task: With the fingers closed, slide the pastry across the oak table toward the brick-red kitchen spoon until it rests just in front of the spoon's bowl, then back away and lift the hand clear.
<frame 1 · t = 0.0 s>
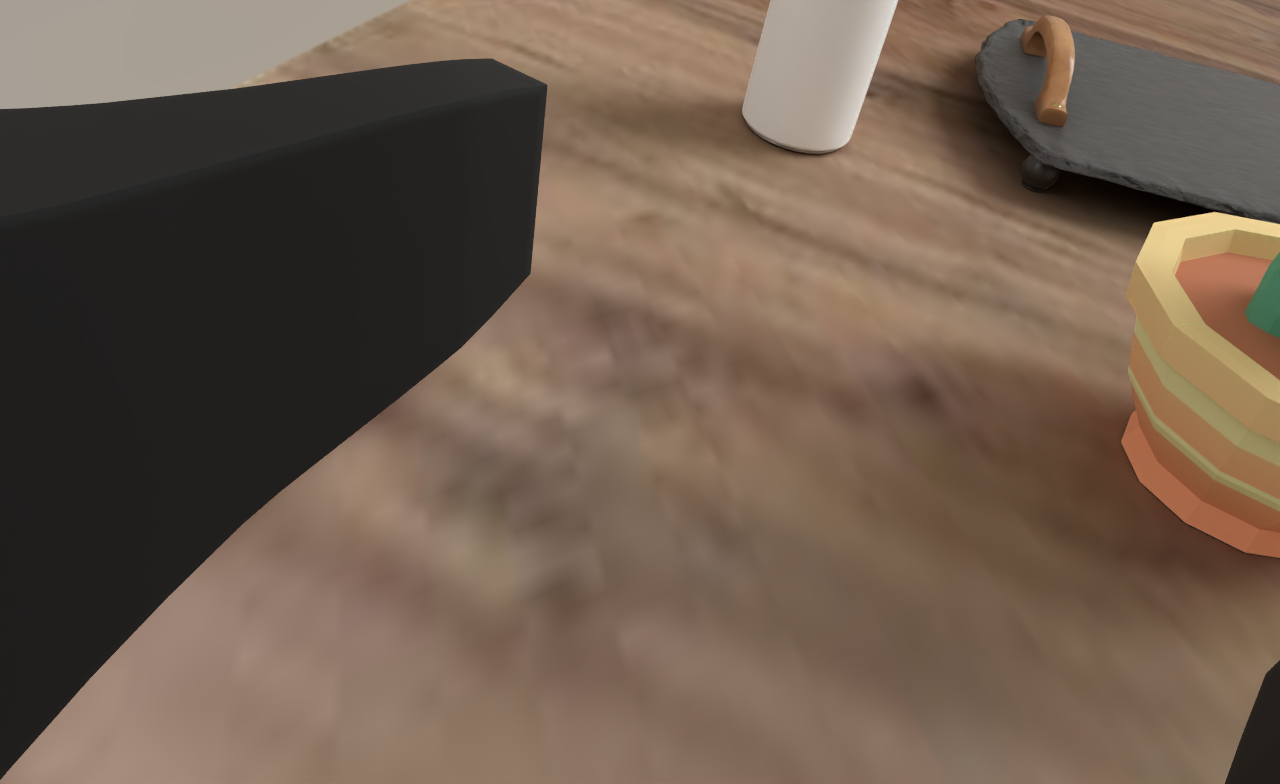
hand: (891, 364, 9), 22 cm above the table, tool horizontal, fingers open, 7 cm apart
can: (793, 131, 63), on the table
potted cactus: (1226, 480, 45), on the table
serving tray: (1255, 186, 70), on the table
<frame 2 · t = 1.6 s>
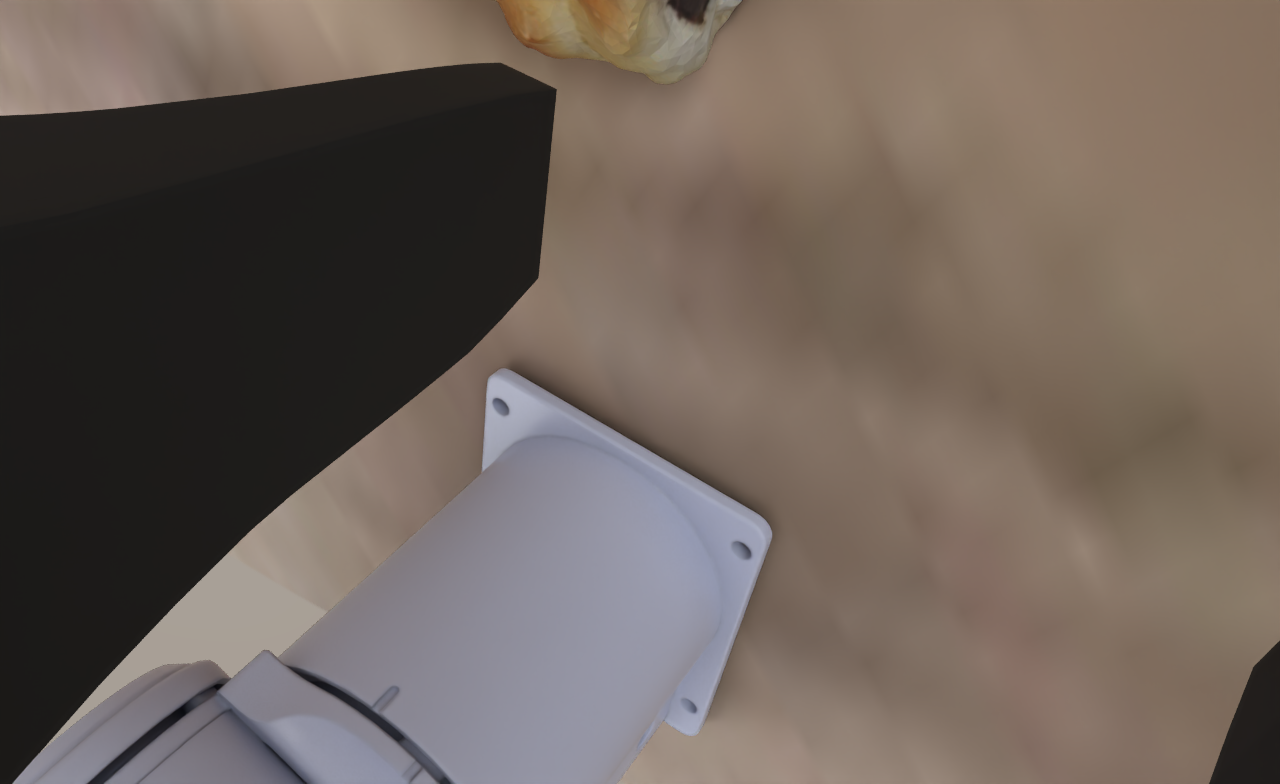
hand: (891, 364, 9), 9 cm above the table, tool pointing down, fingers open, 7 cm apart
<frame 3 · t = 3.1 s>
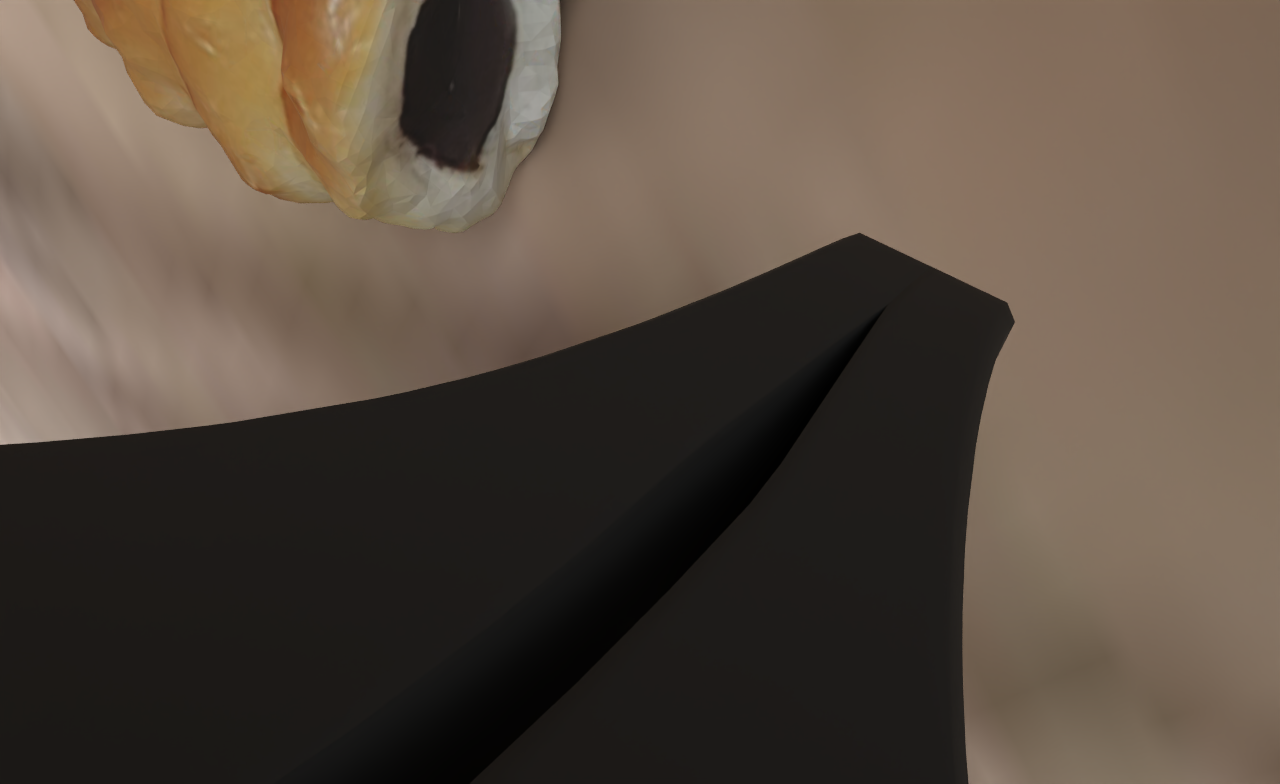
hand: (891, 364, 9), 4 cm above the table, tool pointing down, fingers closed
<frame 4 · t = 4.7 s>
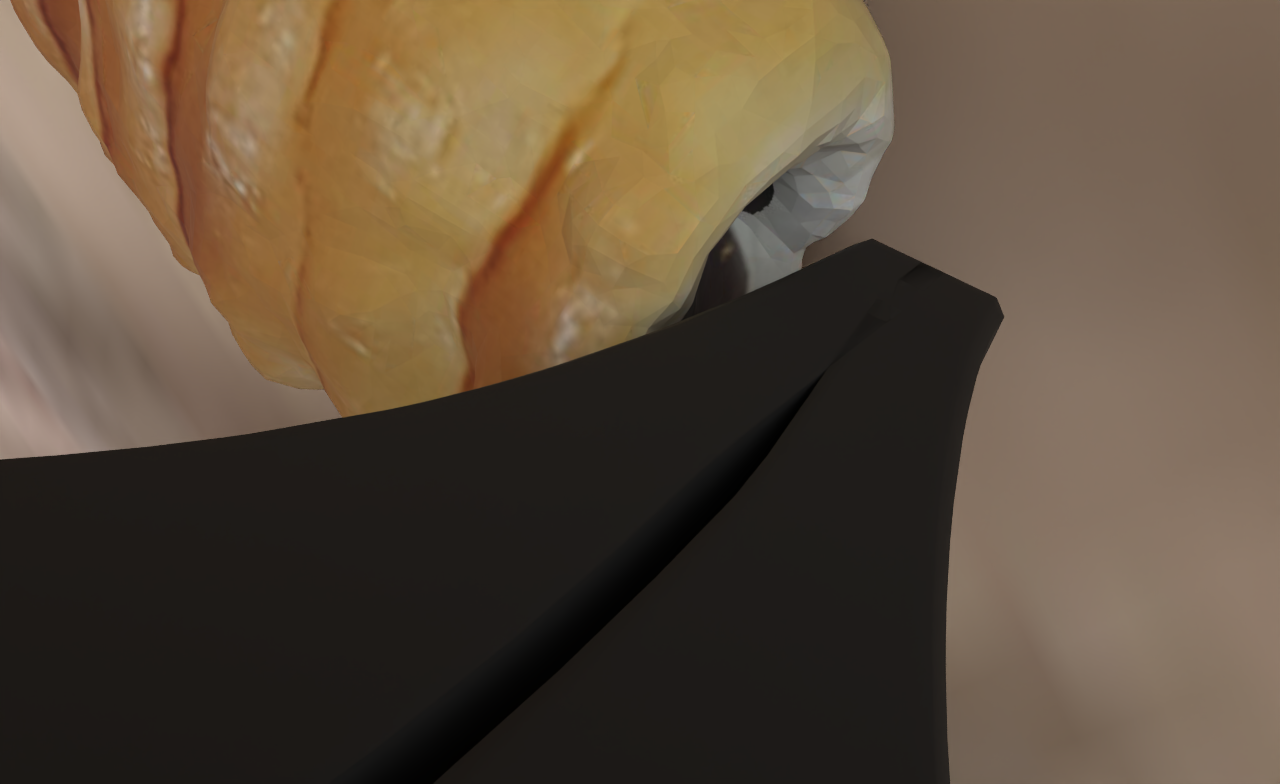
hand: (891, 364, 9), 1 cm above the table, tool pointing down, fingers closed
pastry: (523, 66, 11), on the table, touching gripper
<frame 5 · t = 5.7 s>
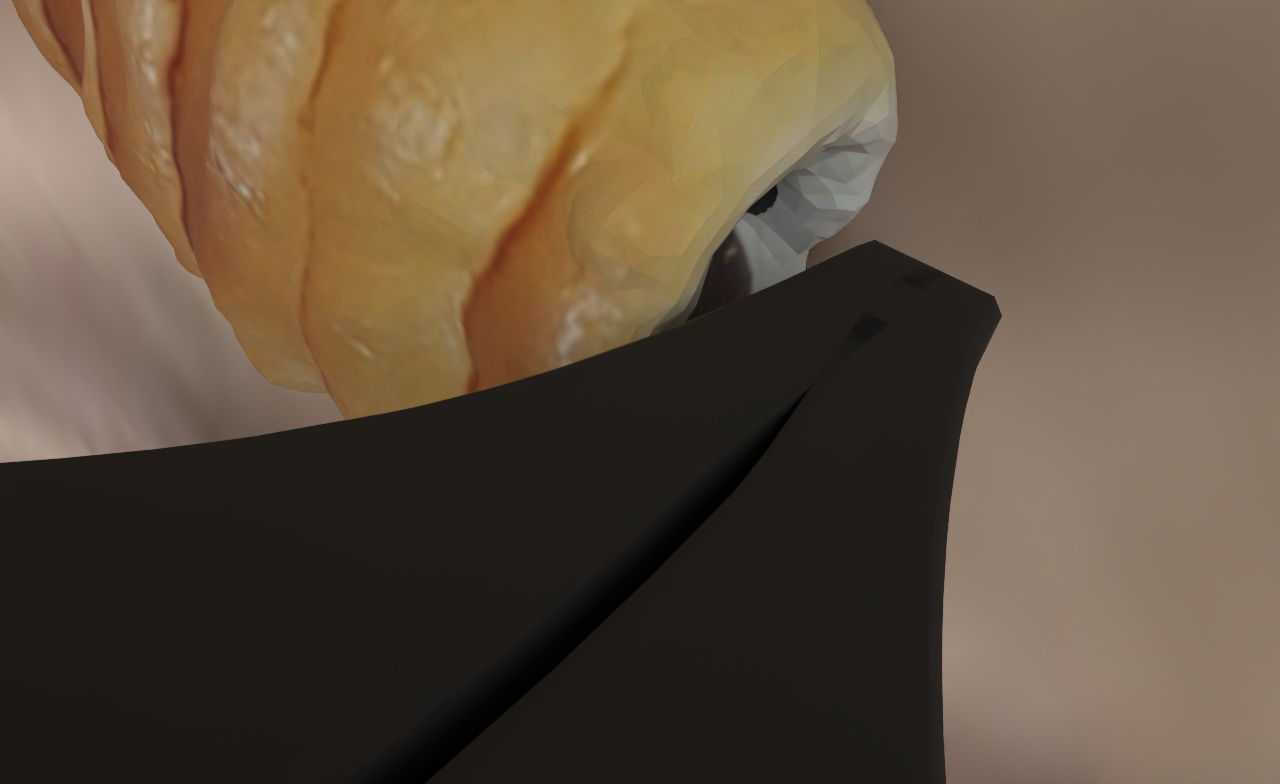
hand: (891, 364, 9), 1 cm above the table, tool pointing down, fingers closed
pastry: (526, 68, 11), on the table, touching gripper
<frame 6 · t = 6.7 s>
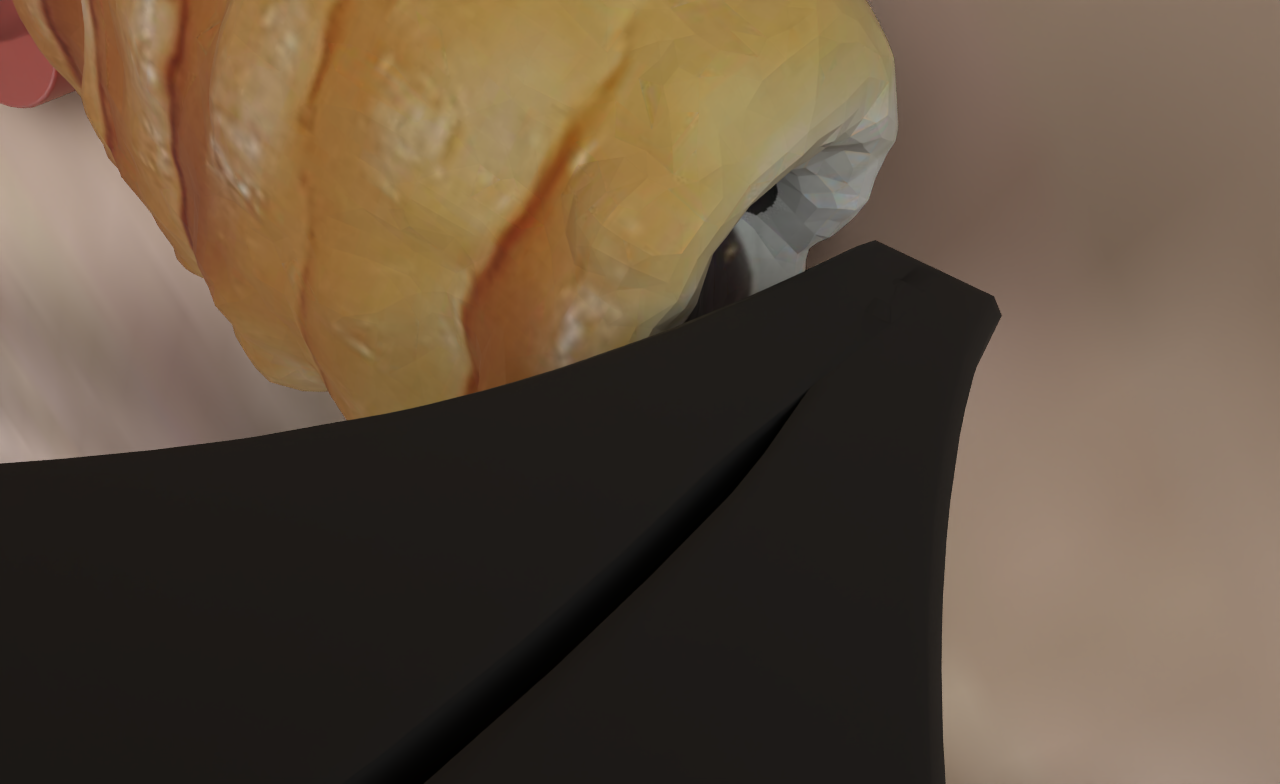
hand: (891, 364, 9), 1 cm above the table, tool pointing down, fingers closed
pastry: (526, 67, 11), on the table, touching gripper
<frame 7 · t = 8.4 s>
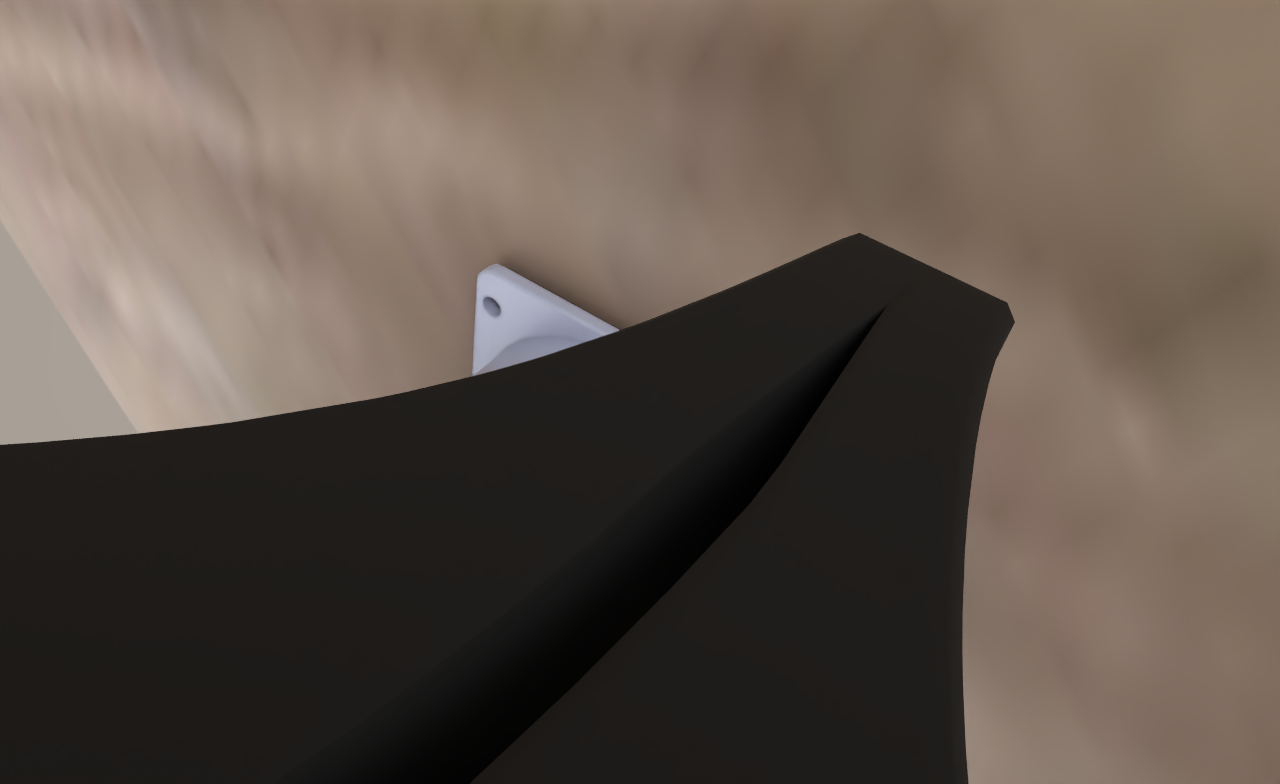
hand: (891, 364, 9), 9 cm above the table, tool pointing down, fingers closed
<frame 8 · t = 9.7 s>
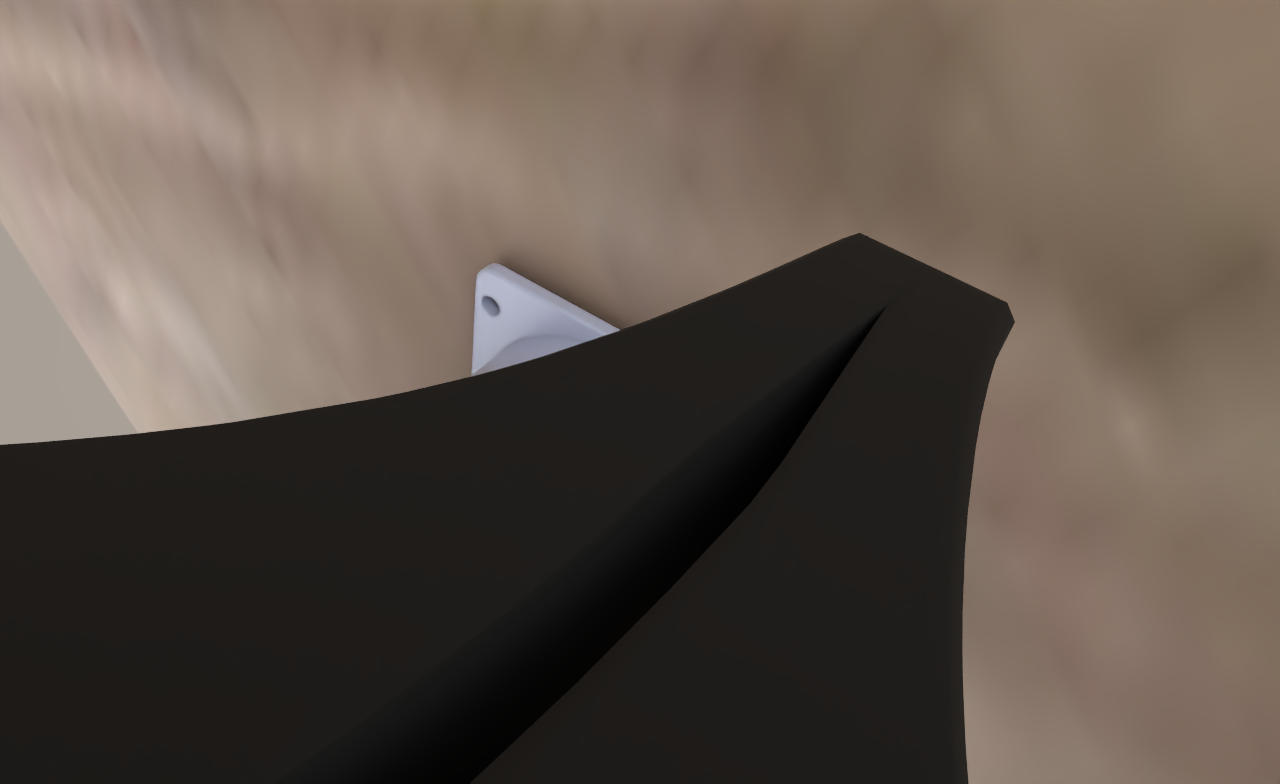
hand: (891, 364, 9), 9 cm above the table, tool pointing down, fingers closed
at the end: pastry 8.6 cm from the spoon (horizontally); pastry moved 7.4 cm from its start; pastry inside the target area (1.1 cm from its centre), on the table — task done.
